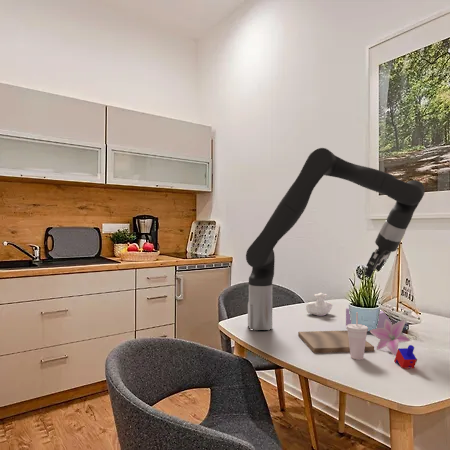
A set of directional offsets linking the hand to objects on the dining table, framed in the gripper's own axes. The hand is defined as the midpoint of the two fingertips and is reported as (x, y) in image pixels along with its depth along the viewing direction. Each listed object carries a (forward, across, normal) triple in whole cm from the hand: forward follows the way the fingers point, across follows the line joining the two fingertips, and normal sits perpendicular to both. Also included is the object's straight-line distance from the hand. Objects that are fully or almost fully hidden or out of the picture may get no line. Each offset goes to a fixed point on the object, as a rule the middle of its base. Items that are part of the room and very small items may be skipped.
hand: (372, 272), depth 141 cm
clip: (+24, -7, +8) cm, 26 cm away
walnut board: (+20, +22, +4) cm, 30 cm away
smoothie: (+13, +30, +14) cm, 35 cm away
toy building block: (+7, +27, +26) cm, 38 cm away
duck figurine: (+36, -8, -14) cm, 40 cm away
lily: (+13, +16, +19) cm, 28 cm away
